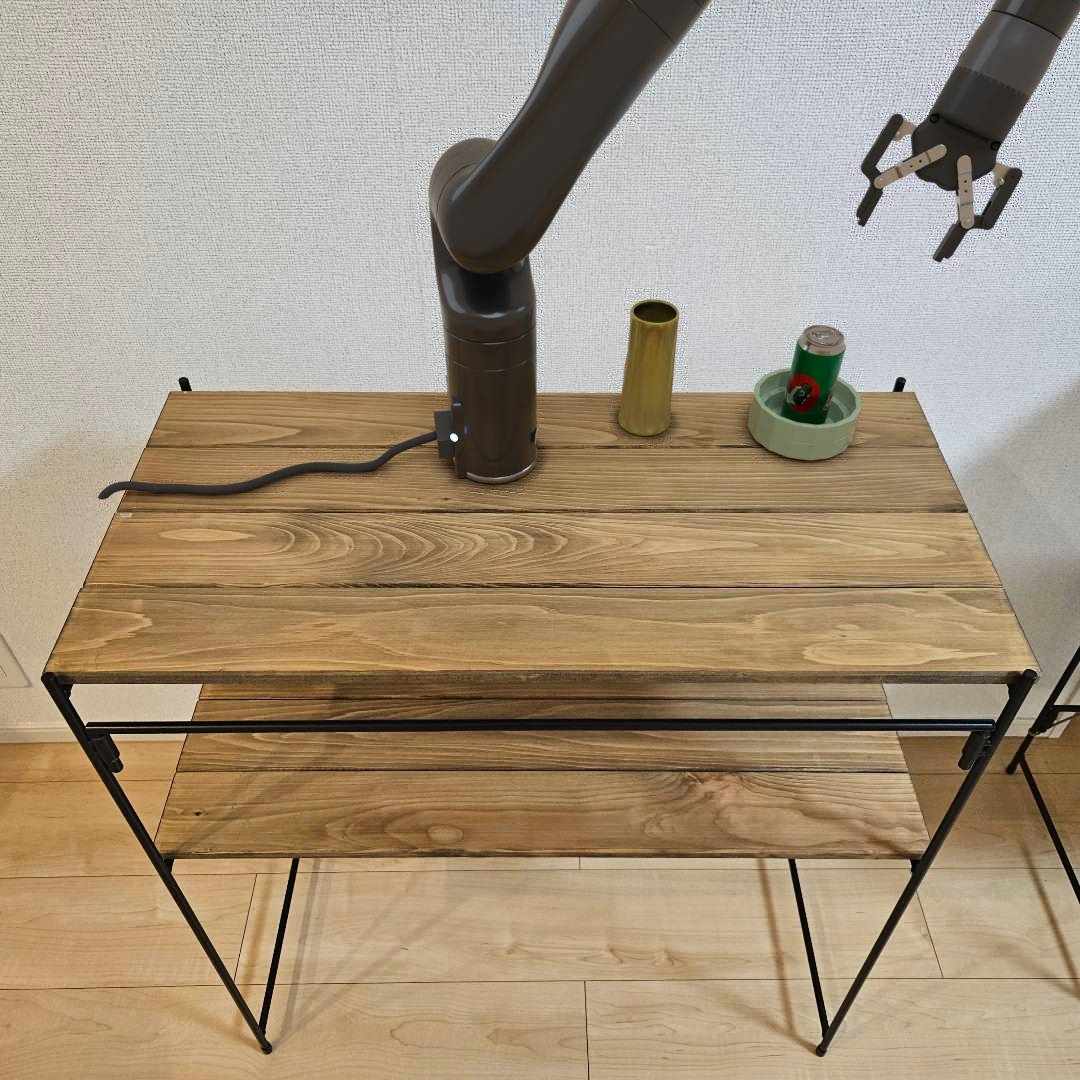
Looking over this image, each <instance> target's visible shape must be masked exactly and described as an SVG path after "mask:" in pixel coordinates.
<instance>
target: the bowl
mask: <svg viewBox="0 0 1080 1080" xmlns="http://www.w3.org/2000/svg"><path fill="white" fill-rule="evenodd" d="M790 370H791V367H788V368H787V367H786V368H779V369H775V370H773V371H771V372H768V373H766V374H763V375H762V376H761V378H760V379H758V380H757V382H755V384H754V388H753V393H752V398H751V403H750V407H749V413H748V421H747V429H748V430H749V432H750V434H751V435H752V438H753V440H755V441H756V442H758V443H759V444H760V445H762V446H763V447H764V448H765V449H767V450H768V451H770V452H773V453H776V454H777V455H781V456H783V457H786V458H790V459H796V460H804V461H817V460H825V459H826V460H827V459H830V458H832V457H835V456H837V455H839V454H841V453H843V452H844V451H846V450H847V448H848V447H849V446H850V445H851V443H852V442H853V440H854V436H855V433H856V429H857V426H858V422H859V419H860V416H861V414H862V413H861V412H862V397H861V395H860V394H859V393H858V392H857V390H856V389H855V388H854V386H853V385H852V384H850V383H849V382H847V381H846V380H844V379H842V378H840V376H838V379H837V382H836V386H835V390H834V393H833V397H832V401H831V404H830V408H829V412H828V415H827V419H826V422H825V424H821V425H813V424H806V423H798V422H795V421H792V420H789V419H786V418H784V417H781V416H780V413H781V409H782V404H783V400H784V396H785V391H786V387H787V383H788V378H789V374H790Z"/></svg>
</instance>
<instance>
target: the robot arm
mask: <svg viewBox="0 0 1080 1080" xmlns="http://www.w3.org/2000/svg"><path fill="white" fill-rule="evenodd" d="M711 2H713V0H566V2H565V4H564V7H563V9H562V11H561V14H560V16H559V19H558V21H557V24H556V26H555V29H554V31H553V34H552V37H551V40H550V42H549V45H548V47H547V51H546V53H545V56H544V60H543V62H542V65H541V67H540V70H539V72H538V74H537V77H536V79H535V82H534V84H533V86H532V88H531V90H530V92H529V94H528V96H527V98H526V99H525V100H524V103H523V104H522V106H521V108H520V109H519V111H518V112H517V114H516V115H515V117H514V118H513V119H512V120H511V122H509V125H507V127H506V128H505V130H504V131H503V132H502V134H501V135H500V136H499V138H498V139H497V140H495V139H492V138H489V137H468V138H465V139H463V140H461V141H458V142H456V143H455V144H452V146H450V147H449V148H447V149H446V150H445V151H444V152H443V153H442V154H441V156H440V157H439V158H438V159H437V161H436V163H435V165H434V167H433V170H432V171H431V175H430V177H429V183H428V210H429V211H428V212H429V221H430V232H431V242H432V252H433V259H434V260H433V261H434V262H433V263H434V271H435V280H436V286H437V287H436V288H437V292H438V297H439V298H438V299H439V303H440V310H441V321H442V331H443V332H442V333H443V342H444V344H443V345H444V357H445V367H446V375H445V382H446V383H445V384H446V393H447V394H446V396H447V407H448V409H447V410H437V411H433V421H434V430H433V431H431V432H427V433H425V434H422V435H418V436H415V437H413V438H410V439H407V440H404V441H402V442H400V443H397V444H396V445H393V446H392V447H390V448H389V449H387V450H386V451H385V452H384V453H383V454H382V455H381V456H379V457H377V458H375V459H374V460H371V461H366V462H361V463H342V462H329V461H313V462H305V463H299V464H295V465H290V466H287V467H284V468H283V467H282V468H281V469H277V470H274V471H272V472H270V473H267V474H265V475H261V476H259V477H255V478H252V479H249V480H246V481H245V480H244V481H240V482H236V483H229V484H211V485H210V484H191V483H190V484H189V483H157V482H156V483H154V482H144V481H136V480H135V481H133V480H132V481H131V480H124V481H117V482H113V483H112V484H109V485H107V486H106V487H105V488H104V489H102V490H101V491H100V493H99V494H98V496H97V499H98V500H107V499H108V498H111V496H112V495H114V494H115V493H118V492H123V491H136V492H146V493H157V494H158V493H159V494H160V493H161V494H162V493H165V494H166V493H167V494H169V493H171V494H172V493H177V494H196V495H225V494H226V495H227V494H235V493H241V492H245V491H249V490H253V489H256V488H257V489H258V488H260V487H262V486H265V485H268V484H270V483H273V482H276V481H279V480H281V479H284V478H288V477H290V476H294V475H298V474H303V473H309V472H336V473H337V472H338V473H364V472H365V473H366V472H371V471H373V470H377V469H379V468H381V467H383V466H384V465H386V464H387V463H388V462H389V461H391V460H392V459H393V458H394V457H395V456H397V455H399V454H401V453H403V452H407V451H409V450H410V449H414V448H417V447H419V446H421V445H426V444H429V443H431V442H434V441H436V445H437V452H438V459H439V460H442V459H450V458H452V461H453V462H452V463H453V465H454V470H455V476H456V478H457V479H468V480H469V479H470V480H472V481H474V482H478V483H484V484H491V485H492V484H493V485H494V484H495V485H496V484H505V483H509V482H515V481H516V480H519V479H521V478H523V477H524V476H526V475H528V474H529V473H530V472H532V470H534V468H535V466H536V465H537V462H538V460H539V459H538V458H539V451H538V435H539V431H540V420H538V390H537V389H538V385H537V384H538V381H537V380H538V378H537V377H538V373H537V372H538V365H537V363H538V361H537V360H538V358H537V357H538V355H537V353H538V352H537V351H538V350H537V349H538V348H537V347H538V346H537V345H538V344H537V343H538V342H537V341H538V340H537V339H538V336H537V335H538V334H537V333H538V332H537V329H538V327H537V326H538V325H537V323H538V322H537V321H538V318H537V315H538V313H537V312H538V309H537V308H538V307H537V306H538V304H537V303H538V302H537V300H538V299H537V292H536V287H535V282H534V278H533V272H532V266H531V259H530V255H531V254H532V252H533V251H534V250H535V249H536V247H537V246H538V245H539V243H540V242H541V240H542V239H543V238H544V236H545V234H546V232H547V231H548V229H549V227H550V226H551V224H552V223H553V221H554V219H555V218H556V216H557V215H558V213H559V211H560V210H561V208H562V206H563V204H564V203H565V201H566V200H567V198H568V196H569V195H570V193H571V191H572V190H573V188H574V187H575V185H576V183H577V182H578V180H579V178H580V177H581V175H583V172H584V171H585V169H586V168H587V166H588V165H589V163H590V162H591V160H592V158H593V157H594V156H595V154H596V153H597V151H598V150H599V149H600V147H601V146H602V145H603V144H604V142H605V141H606V139H607V138H608V137H609V136H610V134H611V133H612V132H613V130H614V129H615V128H616V126H618V124H619V123H620V122H621V120H622V119H623V117H625V115H626V114H627V112H628V111H629V110H630V109H631V107H632V106H633V104H634V103H635V102H636V100H637V99H638V98H639V96H640V95H641V94H642V93H643V91H644V90H645V89H646V87H648V85H649V83H650V82H651V80H652V79H653V78H654V77H655V75H656V74H657V73H658V71H660V69H661V68H662V67H663V66H664V64H665V63H666V62H667V60H669V58H670V57H671V56H672V54H673V53H674V52H675V51H676V50H677V48H678V47H679V46H680V44H681V43H682V42H683V40H684V39H685V38H686V36H687V35H688V34H689V32H690V31H691V29H692V28H693V27H694V26H695V24H696V23H697V22H698V20H699V19H700V17H701V16H702V15H703V14H704V12H705V11H706V10H707V9H708V7H709V6H710V4H711ZM1079 14H1080V0H994V3H993V5H992V6H991V8H990V10H989V12H987V14H986V16H985V17H984V19H983V20H982V22H981V24H980V25H979V26H978V27H977V28H976V30H975V32H974V33H973V35H972V37H971V38H970V40H969V41H968V43H967V45H966V46H965V48H964V50H963V51H961V53H960V54H959V57H958V60H957V63H956V65H955V66H954V67H953V70H952V71H951V73H950V75H949V77H948V78H947V80H946V82H945V84H944V85H943V88H942V89H941V91H940V93H939V94H938V97H937V98H936V99H935V102H934V104H933V105H932V107H931V108H930V110H929V112H928V114H927V116H926V117H925V119H924V120H923V121H922V122H921V123H919V124H915V123H913V122H911V121H909V120H908V119H905V118H904V116H903V115H902V114H900V113H893V114H891V115H890V116H889V118H888V119H887V121H886V123H885V124H884V125H883V128H881V131H880V133H879V134H878V135H877V138H875V141H874V142H873V144H872V145H871V147H870V149H869V150H868V152H867V154H866V156H865V157H864V159H863V160H862V162H861V164H860V171H861V173H862V174H863V175H864V176H865V177H866V178H867V179H868V181H869V186H868V188H867V190H866V192H865V193H864V196H863V198H862V199H861V201H860V203H859V205H858V207H857V209H856V211H855V218H858V220H857V222H856V225H858V226H860V227H863V228H864V227H865V226H866V225H867V223H868V221H869V219H870V218H871V216H872V214H873V212H874V211H875V209H876V207H877V205H878V203H879V201H880V200H881V199H882V196H883V195H884V191H883V190H884V188H886V187H888V186H889V185H891V184H893V183H895V182H896V181H899V180H900V179H904V178H906V177H907V176H909V175H911V174H913V173H914V175H915V176H916V177H917V179H919V180H921V181H924V182H926V183H932V184H934V185H936V186H937V187H938V188H939V189H941V190H942V191H944V192H947V193H948V192H954V198H955V204H956V214H957V215H956V216H957V220H956V221H955V223H954V222H952V224H951V225H950V227H949V228H948V229H947V232H946V233H945V235H944V237H943V238H942V240H941V241H940V243H939V244H938V246H937V247H936V249H935V251H934V253H933V254H932V256H931V259H932V260H933V261H935V262H937V263H940V264H941V263H942V261H943V260H944V259H946V260H949V259H950V258H952V257H953V256H954V254H955V252H956V251H957V249H958V248H959V246H960V244H961V243H962V241H963V240H964V238H965V236H966V235H967V233H968V232H970V231H971V230H983V231H990V230H992V229H993V228H994V227H995V226H996V223H997V222H998V220H999V218H1000V216H1001V215H1002V213H1003V211H1004V209H1005V208H1006V206H1007V204H1008V202H1009V200H1010V199H1011V197H1012V195H1013V194H1014V192H1015V190H1016V188H1017V186H1018V184H1019V183H1020V181H1021V180H1022V178H1023V175H1024V174H1023V169H1021V168H1020V167H1018V166H1009V165H1006V164H1004V163H1002V162H998V161H997V158H998V153H999V151H1000V149H1001V147H1002V145H1003V144H1004V142H1005V140H1006V139H1007V137H1008V135H1009V134H1010V133H1011V130H1012V129H1013V127H1014V125H1015V124H1016V122H1017V121H1018V119H1019V118H1020V116H1021V114H1022V113H1023V111H1024V109H1025V108H1026V106H1027V104H1028V103H1029V101H1030V100H1031V98H1032V96H1033V95H1034V93H1035V91H1036V90H1037V88H1038V87H1039V84H1040V83H1041V82H1042V80H1043V78H1044V77H1045V75H1046V73H1048V72H1047V71H1049V68H1050V66H1051V64H1052V62H1053V59H1054V58H1055V55H1056V53H1057V51H1058V49H1059V47H1060V45H1061V44H1062V41H1063V40H1064V38H1065V37H1066V36H1067V34H1068V32H1069V30H1070V29H1071V27H1072V25H1073V24H1074V22H1075V20H1076V19H1077V17H1078V16H1079ZM907 135H910V143H911V155H910V156H908V157H906V158H904V159H902V160H901V161H898V162H897V163H895V164H894V165H892V166H891V167H889V168H887V169H885V170H882V171H880V169H879V168H878V167H877V166H878V163H879V162H880V161H881V159H882V158H883V156H884V154H885V152H886V151H887V149H888V147H890V144H891V143H892V141H894V142H899V141H901V140H902V139H903V138H904V137H905V136H907ZM990 173H992V174H993V178H992V182H991V183H992V185H993V187H995V189H994V190H993V192H992V194H991V196H990V198H989V199H988V201H987V203H986V205H985V207H984V208H983V210H982V212H981V214H975V209H974V187H973V183H974V182H975V181H977V180H979V179H981V178H983V177H984V176H987V175H988V174H990Z"/></svg>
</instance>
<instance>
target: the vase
mask: <svg viewBox="0 0 1080 1080" xmlns="http://www.w3.org/2000/svg"><path fill="white" fill-rule="evenodd" d="M629 315H630V317H629V330H628V339H627V340H628V341H627V351H626V356H625V361H624V366H623V367H624V368H623V376H622V387H621V396H620V397H621V398H620V399H621V400H620V407H619V408H620V409H619V412H618V416H617V421H618V424H619V426H620V427H621V428H622V429H623V430H625V432H627V433H630V434H632V435H634V436H635V435H636V436H640V437H650V436H651V437H652V436H656V435H660V434H662V433H663V432H665V431H667V429H668V428H669V427H670V424H671V421H672V420H671V414H672V413H671V412H672V398H673V388H674V387H673V385H674V376H675V362H676V351H677V340H678V331H679V321H680V311H679V308H678V307H677V306H676V305H675V304H673V303H671V302H669V301H667V300H663V299H657V298H656V299H655V298H651V299H649V298H648V299H644V300H640V301H638V302H636V303H635V304H633V305H632V306H631V308H630V310H629Z"/></svg>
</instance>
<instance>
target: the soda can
mask: <svg viewBox="0 0 1080 1080" xmlns="http://www.w3.org/2000/svg"><path fill="white" fill-rule="evenodd" d="M846 349H847V346H846V343H845V335H844V333H843V332H842V331H840V330H839V329H837V328H836V327H833V326H829V325H823V324H814V325H809V326H807V327H806V328H804V329H803V331H802V334H801V335H800V336H799V337H798V338H797V340H796V344H795V348H794V353H793V357H792V361H791V366H790V368H791V370H790V374H789V378H788V383H787V387H786V391H785V396H784V400H783V404H782V409H781V413H780V416H781V417H784V418H786V419H789V420H792V421H795V422H798V423H806V424H813V425H821V424H825V422H826V419H827V415H828V412H829V408H830V404H831V401H832V397H833V393H834V390H835V386H836V382H837V379H838V377H839V375H840V371H841V367H842V364H843V360H844V356H845V353H846Z"/></svg>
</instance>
